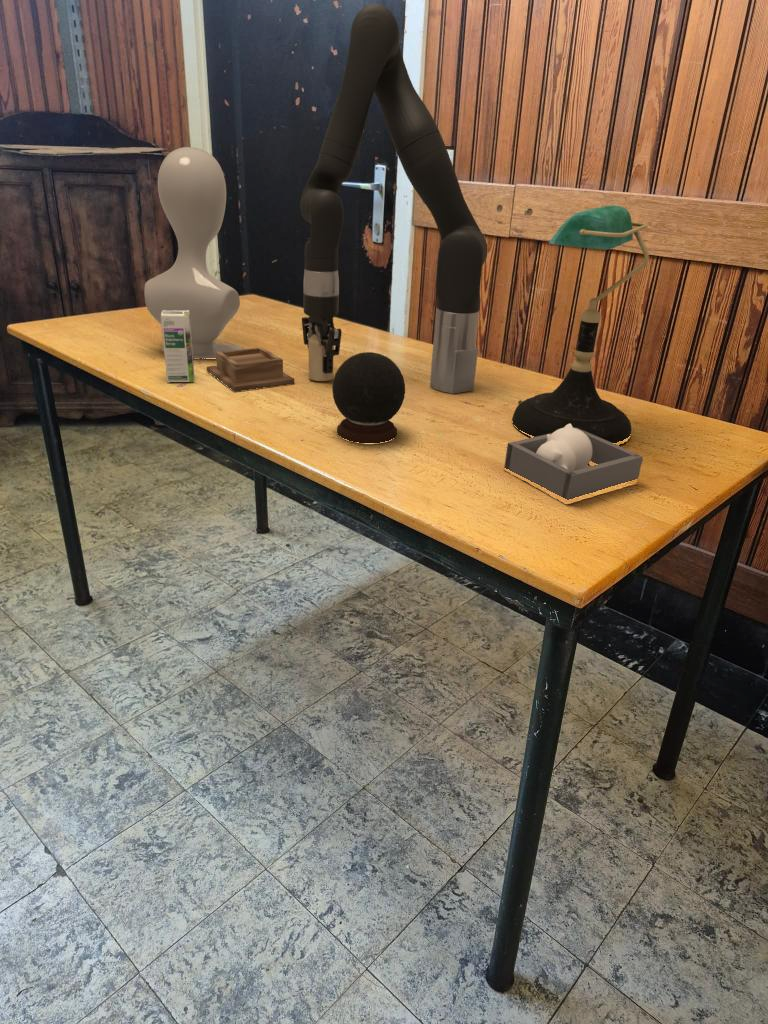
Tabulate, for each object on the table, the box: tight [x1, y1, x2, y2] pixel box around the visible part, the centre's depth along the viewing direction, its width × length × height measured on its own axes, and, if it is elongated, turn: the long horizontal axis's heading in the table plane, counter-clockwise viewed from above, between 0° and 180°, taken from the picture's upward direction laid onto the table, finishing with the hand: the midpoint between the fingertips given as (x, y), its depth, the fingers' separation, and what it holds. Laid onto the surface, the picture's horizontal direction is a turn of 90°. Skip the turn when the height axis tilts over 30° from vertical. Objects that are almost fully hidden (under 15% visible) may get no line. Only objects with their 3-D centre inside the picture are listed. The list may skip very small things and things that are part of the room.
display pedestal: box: [206, 346, 295, 392], centre depth 155 cm, size 16×14×5 cm
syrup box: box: [160, 310, 195, 383], centre depth 150 cm, size 6×6×14 cm
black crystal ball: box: [331, 351, 406, 443], centre depth 127 cm, size 13×13×15 cm
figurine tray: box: [503, 428, 644, 500], centre depth 116 cm, size 14×16×5 cm
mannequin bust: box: [143, 146, 243, 360], centre depth 163 cm, size 22×20×45 cm
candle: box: [308, 333, 334, 382], centre depth 156 cm, size 6×6×10 cm
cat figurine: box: [536, 424, 593, 471], centre depth 117 cm, size 9×11×12 cm
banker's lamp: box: [511, 204, 650, 443], centre depth 129 cm, size 26×23×40 cm
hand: (320, 369), depth 157 cm, fingers closed on candle, 5 cm apart
